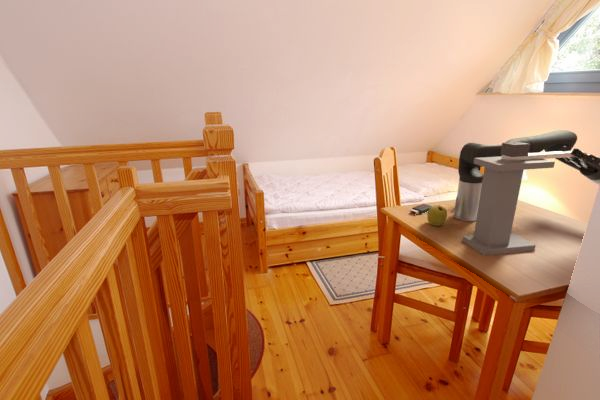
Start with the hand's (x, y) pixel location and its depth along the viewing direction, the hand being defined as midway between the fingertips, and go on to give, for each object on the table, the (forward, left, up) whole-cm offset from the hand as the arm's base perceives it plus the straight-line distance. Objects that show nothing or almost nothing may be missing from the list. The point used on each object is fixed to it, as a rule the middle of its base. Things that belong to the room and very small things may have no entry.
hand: (568, 149), depth 111 cm
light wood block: (-7, -6, -2) cm, 10 cm away
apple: (-39, -3, -35) cm, 52 cm away
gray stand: (-16, -13, -34) cm, 40 cm away
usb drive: (-48, +10, -35) cm, 60 cm away
